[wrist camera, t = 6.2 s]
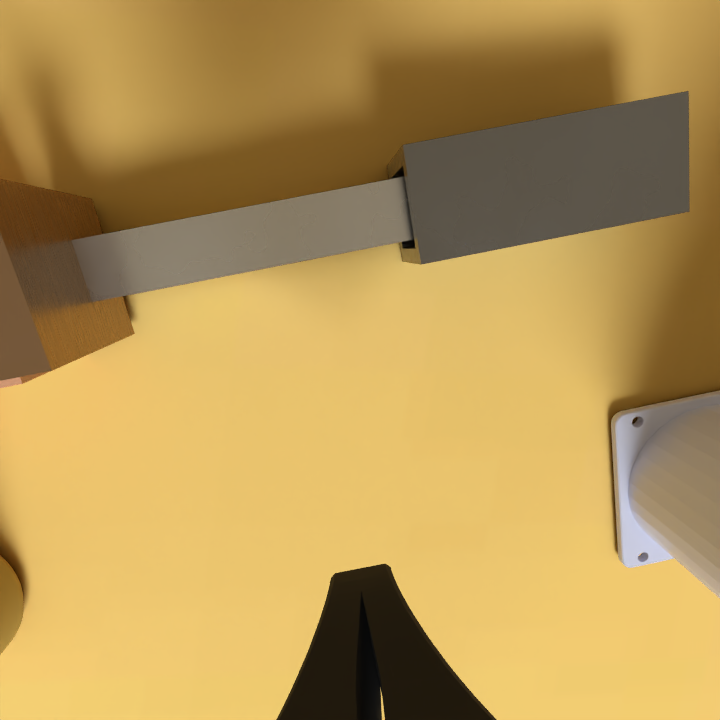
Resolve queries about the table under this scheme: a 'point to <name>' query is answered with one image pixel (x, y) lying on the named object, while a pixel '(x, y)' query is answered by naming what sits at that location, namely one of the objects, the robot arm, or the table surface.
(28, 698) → the table surface
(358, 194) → the tube
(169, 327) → the table surface
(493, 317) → the table surface
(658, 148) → the sleeve
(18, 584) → the brown cylindrical piece
